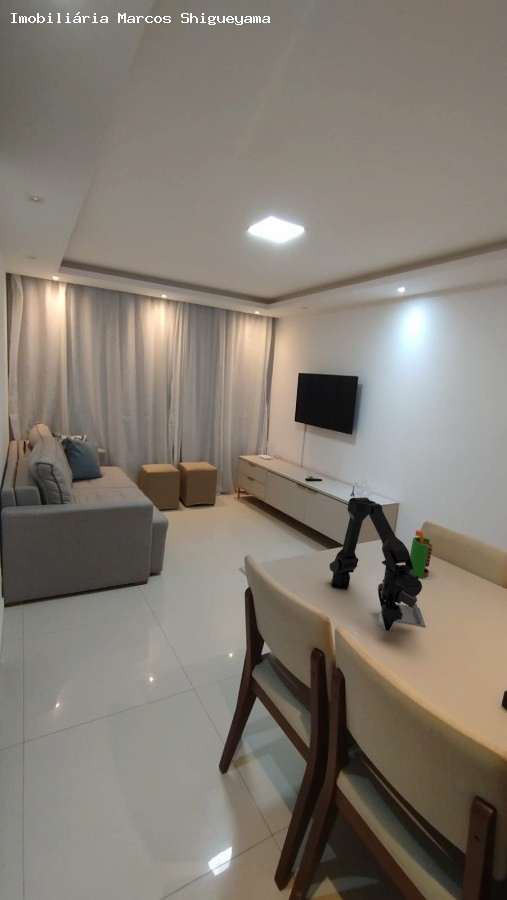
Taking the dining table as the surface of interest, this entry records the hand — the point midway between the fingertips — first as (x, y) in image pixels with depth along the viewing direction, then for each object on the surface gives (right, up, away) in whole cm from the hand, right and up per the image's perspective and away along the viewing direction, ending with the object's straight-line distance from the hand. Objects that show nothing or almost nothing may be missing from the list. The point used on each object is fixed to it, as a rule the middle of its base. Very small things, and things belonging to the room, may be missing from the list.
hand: (385, 622), depth 141 cm
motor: (+29, +3, +44) cm, 53 cm away
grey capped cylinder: (0, -1, 0) cm, 1 cm away
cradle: (+10, -1, +9) cm, 13 cm away
